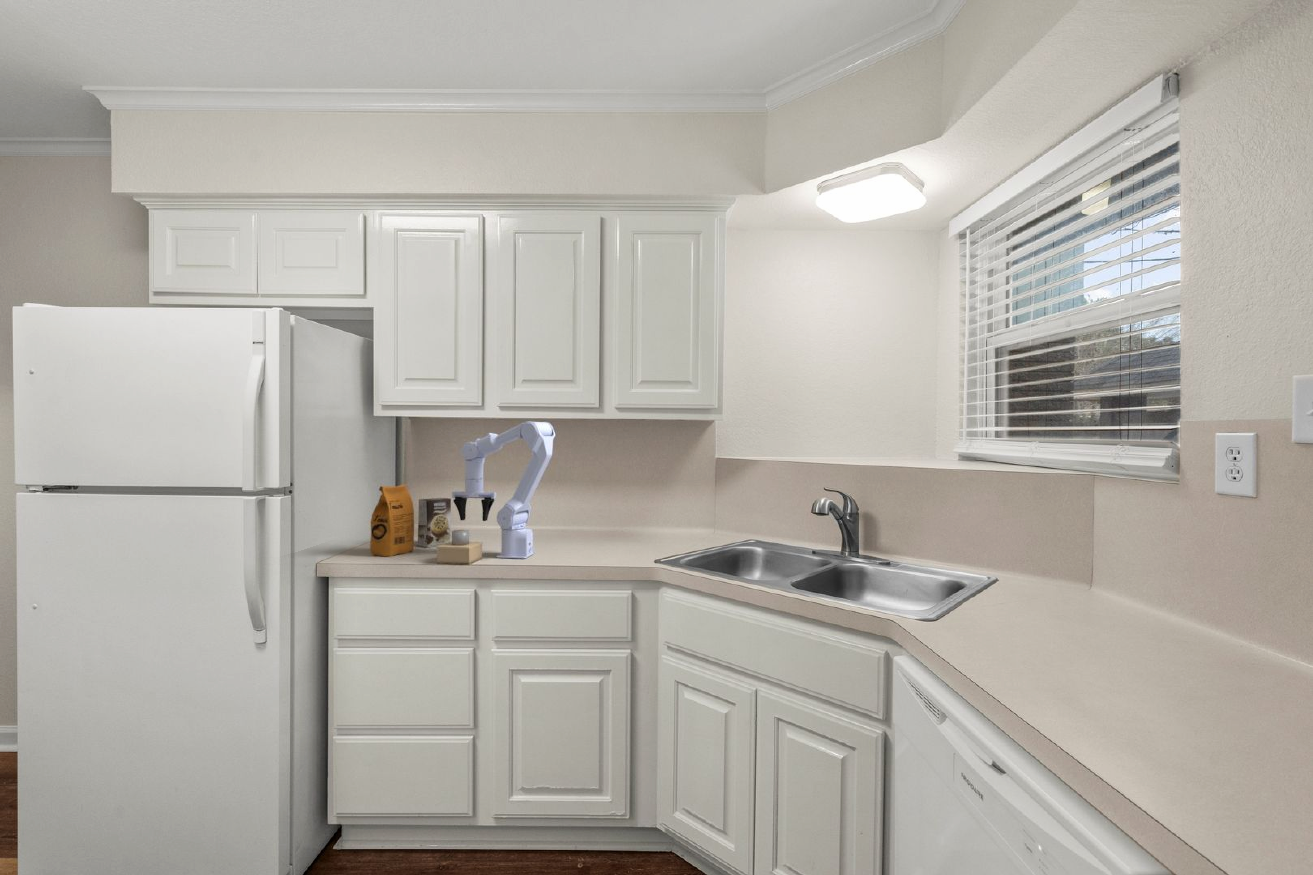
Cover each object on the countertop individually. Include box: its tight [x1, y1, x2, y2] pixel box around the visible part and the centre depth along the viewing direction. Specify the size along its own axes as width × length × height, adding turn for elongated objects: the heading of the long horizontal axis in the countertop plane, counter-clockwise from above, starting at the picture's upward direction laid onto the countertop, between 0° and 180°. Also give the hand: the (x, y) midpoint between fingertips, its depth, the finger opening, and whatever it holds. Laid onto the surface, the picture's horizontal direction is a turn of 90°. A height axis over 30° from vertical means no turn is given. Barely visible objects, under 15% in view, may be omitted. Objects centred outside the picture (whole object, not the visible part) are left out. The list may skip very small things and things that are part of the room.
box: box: [436, 543, 483, 566], centre depth 183 cm, size 10×9×4 cm
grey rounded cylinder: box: [451, 529, 470, 546], centre depth 183 cm, size 5×5×4 cm
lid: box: [436, 540, 483, 550], centre depth 183 cm, size 10×9×1 cm
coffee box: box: [417, 497, 452, 548], centre depth 209 cm, size 9×6×16 cm
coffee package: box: [369, 483, 415, 558], centre depth 194 cm, size 10×12×22 cm
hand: (473, 520), depth 197 cm, fingers open, 7 cm apart
